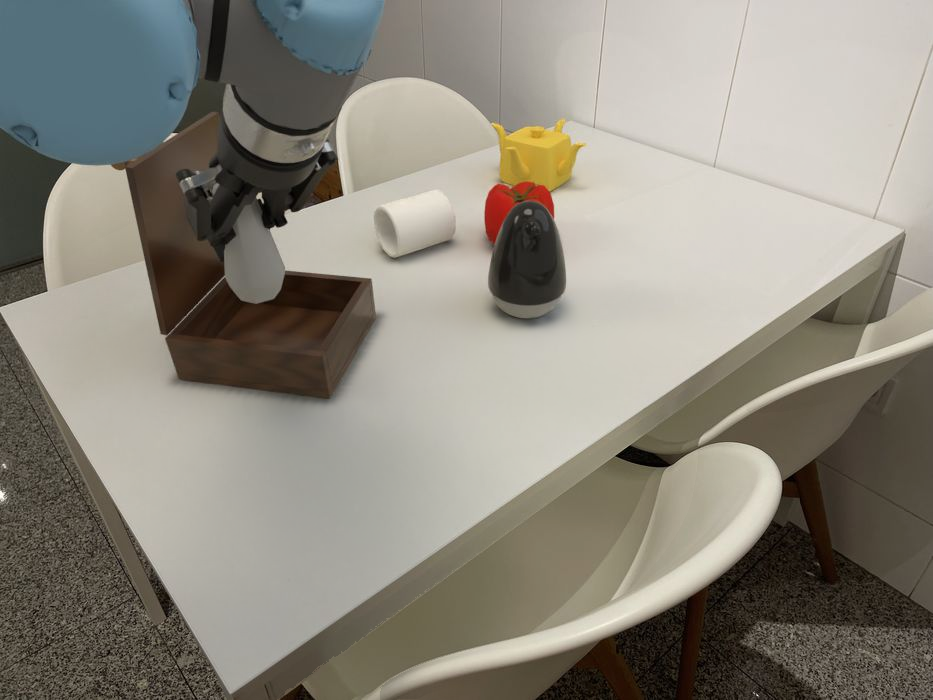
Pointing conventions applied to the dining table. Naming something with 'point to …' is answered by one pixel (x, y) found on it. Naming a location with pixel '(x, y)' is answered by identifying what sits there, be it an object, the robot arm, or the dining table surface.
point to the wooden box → (276, 335)
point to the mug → (414, 223)
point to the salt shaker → (253, 258)
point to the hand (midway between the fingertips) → (235, 243)
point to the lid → (174, 222)
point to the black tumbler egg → (527, 262)
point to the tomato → (511, 203)
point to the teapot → (536, 155)
